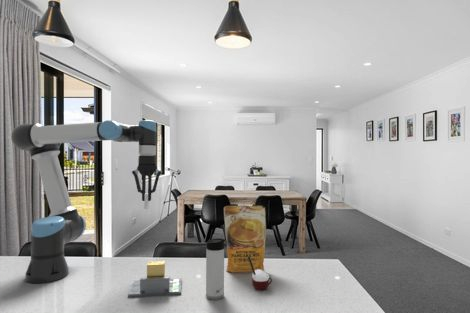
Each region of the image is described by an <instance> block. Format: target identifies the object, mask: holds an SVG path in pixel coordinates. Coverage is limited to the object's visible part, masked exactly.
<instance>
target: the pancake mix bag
mask: <svg viewBox="0 0 470 313" xmlns="http://www.w3.org/2000/svg"><path fill="white" fill-rule="evenodd" d="M263 206H264V205H245V204H244V205H241V204H239V205H225V206H224V207H223V221H224V230H225V231H224V233H225V234H224V235H225V241H226V254H227V266H226V271H225V272H230V273H235V274H238V273H241V274H243V273H244V274H245V273H253V271H252V268H251V265H250V262H249V259H248V256H249V257H250V259H251V262H252V265H253V268H254V271H255V270H258V269H260V270H262V271H265V267H264V260H265V249H266V248H265V247H266V235H267V220H266V219H267V218H266V217H267V216H266V214H267V212H266V207H263Z"/></svg>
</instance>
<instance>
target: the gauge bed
mask: <svg viewBox="0 0 470 313" xmlns="http://www.w3.org/2000/svg"><path fill="white" fill-rule="evenodd" d="M182 280H183V279H182V278H171V276H165V277H149V278H147V277H140V279H138V280H134V281H133V283H132V284H131V287H130V290H129V291H128V294H127V298H140V297H141V298H143V297H159V296H162V297H164V296H177V295H179V296H180V295H181V294H182ZM174 281H177V283H174V284H170V282H174Z"/></svg>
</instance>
